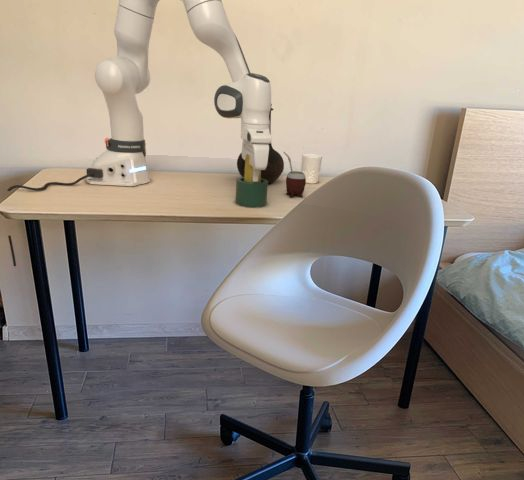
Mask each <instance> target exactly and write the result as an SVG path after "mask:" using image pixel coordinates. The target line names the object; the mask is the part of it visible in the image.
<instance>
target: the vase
mask: <svg viewBox="0 0 524 480" xmlns="http://www.w3.org/2000/svg"><path fill="white" fill-rule="evenodd" d="M252 175H253V167H252V166H251V165H250V164H249V156H247V155H246V158H245V174H244V182H248V183H261V170H260V173H259V176H258V181H257V182H254V181H252Z"/></svg>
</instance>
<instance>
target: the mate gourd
mask: <svg viewBox="0 0 524 480" xmlns="http://www.w3.org/2000/svg"><path fill="white" fill-rule="evenodd" d="M283 154H284V155H285V156H286V157H287V160H288V162H289V167H290V171H289V172H288V173H287V175H286V178H285V186H286V193H285V195H287V196H289V198H290V199H291V198H295V197H297V198H303V197H304V196H303V194H304V191H305V187H306V184H307V183H306V177H305V174H304V173H302V172H301V171H294V170H293V166H292V165H293V164H292V160H291V157H290V156H289V154H288V153H286V151H283Z"/></svg>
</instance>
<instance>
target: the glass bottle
mask: <svg viewBox="0 0 524 480" xmlns="http://www.w3.org/2000/svg"><path fill="white" fill-rule="evenodd" d="M272 105H273V103H271V109H270V112H269V121H270V127H269V130H270V135H271V136H272V133H271V132H272V131H271V130H272V129H271V127H272V126H271V125H272V111H274V108H273V106H272ZM236 168H237V171H238V173H239V175H240V177H244V174H245V160H244V159H243V158H242V151H241V152H240V154H239V155H238V157H237V160H236ZM284 169H285V161H284V158H283V156H282V155H281V154H280V153H279V151H277V150H275V148H274V147H273V145H272V143H271V144H269V155H268V163H267V167H266V169H265V170H261V178H263V179H266V180H267V181H268V185H269V184H273V183H274V182H275V181H277V180H278V179H279V178H280V176H281V175H282V174H283V172H284Z"/></svg>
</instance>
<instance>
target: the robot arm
mask: <svg viewBox="0 0 524 480" xmlns="http://www.w3.org/2000/svg"><path fill="white" fill-rule="evenodd" d="M181 1H182V3H183V7H184V9H185V13H186V16H187V19H188V23H189V26H190V28H191V31H192V32H193V34H194V36H195V38H196V39H197V40H198V41H199V42H201V43H202V44H204V45H205V46H207V47H209V48H210V49H212V50H213V51H215V52H216V53H217V54H219V56H220V57H221V58H222V59H223V61H224V63H225V65H226V68H227V70H228V73H229V77H230V79H231V81H232V82H230V83H227V84H223V85H220V86H219V87H218V88H217V89H216V91H215V92H214V93H215V94H214V97H213V105H214V109H215V111H216V113H217V114H218V116H221V117H222V118H224V119H240V139H242V144H241V152H242V158H243V159H244V160H245V158H246V155H247V156H249V164H250V165H251V166H252V167H253V175H252V181H254V182H257V181H258V176H259V173H260V170H265V169H266V167H267V163H268V155H269V144H272V134H271V135H270V130H269V127H270V121H269V112H270V109H271V108H272V106H271V104H272V85H271V84H272V83H271V80H270V79H269V78H268V77H267V76H264V75H263V74H258V73H253V72H251V70H250V68H249V65H248V62H247V60H246V58H245V54H244V53H243V49H242V47H241V44H240V42H239V39H238V38H237V36H236V34H235V32H234V29H233V28H232V26H231V24H230V21H229V18H228V16H227V13H226V10H225V7H224V4H223V1H222V0H181ZM159 2H160V0H118V5H117V10H116V15H115V22H114V30H113V33H114V37H115V40H116V57H108V58H106V59H104V60H102V61H100V62H99V63H98V64H97V65H96V67H95V71H94V80H95V82H96V85H97V87H98V88H99V89H100V90H101V92H102V94H103V97H104V100H105V103H106V107H107V110H108V116H109V124H110V135H111V136H110V138H109V137H106V138H104V143H105V148H106V150H104V151H103V152H102V153H101V154H99V156H97V157H96V158H95V159H94V160H93V162H92V165H91V167H87V168H86V170H85V171H86V174H85V175H83V176H81V177H80V178H78V179H76V180H75V181H72V182H59V181H51V182H47V183H45V184H44V185H42V186H41V187H30V186H26V185H22V184H16V185H12V186H10V187H9V188H7V190H6V191H7V192H10V191H12V190H13V189H17V188H19V189H20V188H21V189H25V190H29V191H37V192H38V191H42V190H45V189H47V187H48V186H52V185H58V186H59V185H60V186H73V185H77V184H78V183H79V182H81V181H83V180H85V182H86V183H88V184H90V185H102V186H117V187H118V186H120V187H135V186H138V185H144V184H148V183H150V182H151V178H150V175H149V170H148V166H147V159H146V156H147V144H146V140H145V134H144V117H143V113H142V112H141V110H140V108H139V105H138V101H137V97H136V95H137V94H140V93H142V92H144V91H145V90H146V89H147V88H148V87H149V86H150V83H151V73H150V71H149V48H150V42H151V37H152V31H153V25H154V22H155V16H156V11H157V7H158V3H159ZM7 238H8V242H9V247H10V252H11V258H12V264H13V267H16V266H17V261H16V256H15V251H14V246H13V245H14V244H13V242H12V241H13V240H12V235H7Z"/></svg>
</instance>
